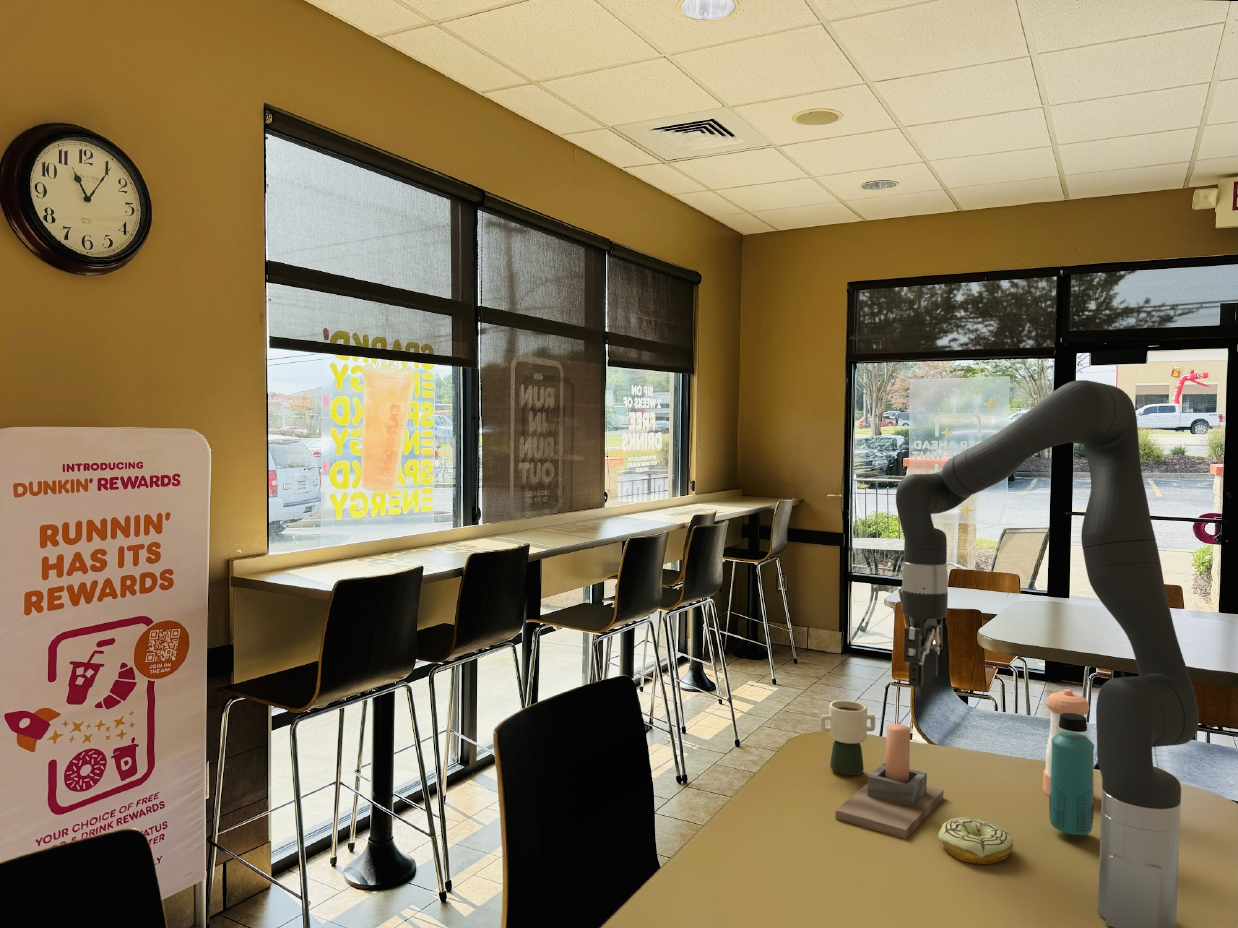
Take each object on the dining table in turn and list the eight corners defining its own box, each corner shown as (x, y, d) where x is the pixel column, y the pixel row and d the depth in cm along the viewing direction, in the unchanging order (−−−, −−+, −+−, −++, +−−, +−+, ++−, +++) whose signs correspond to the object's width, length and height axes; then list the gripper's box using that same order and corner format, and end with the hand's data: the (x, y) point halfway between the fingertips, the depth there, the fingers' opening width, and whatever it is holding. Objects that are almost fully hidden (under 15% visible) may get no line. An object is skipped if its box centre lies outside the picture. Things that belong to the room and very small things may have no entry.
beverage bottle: (1098, 846, 142) (1102, 722, 142) (1053, 841, 144) (1057, 719, 143) (1085, 828, 149) (1089, 710, 148) (1042, 824, 150) (1046, 707, 149)
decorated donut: (926, 848, 142) (926, 825, 141) (962, 829, 148) (963, 807, 148) (988, 874, 134) (988, 850, 133) (1023, 853, 140) (1024, 830, 140)
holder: (905, 838, 144) (906, 808, 144) (835, 818, 152) (836, 789, 151) (943, 797, 160) (944, 770, 160) (878, 781, 168) (878, 755, 167)
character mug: (867, 764, 176) (868, 699, 176) (881, 778, 169) (882, 711, 168) (813, 765, 175) (814, 700, 175) (824, 779, 168) (826, 712, 168)
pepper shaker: (1093, 793, 163) (1097, 690, 162) (1077, 804, 158) (1081, 698, 157) (1052, 781, 168) (1055, 681, 167) (1036, 792, 163) (1039, 689, 163)
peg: (904, 800, 155) (905, 733, 155) (881, 795, 158) (883, 728, 157) (911, 793, 159) (913, 726, 158) (889, 787, 161) (891, 722, 160)
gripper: (934, 596, 147) (933, 693, 148) (958, 585, 159) (956, 675, 159) (889, 591, 152) (888, 686, 152) (915, 580, 163) (914, 668, 164)
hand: (923, 680), depth 156 cm, fingers open, 8 cm apart
